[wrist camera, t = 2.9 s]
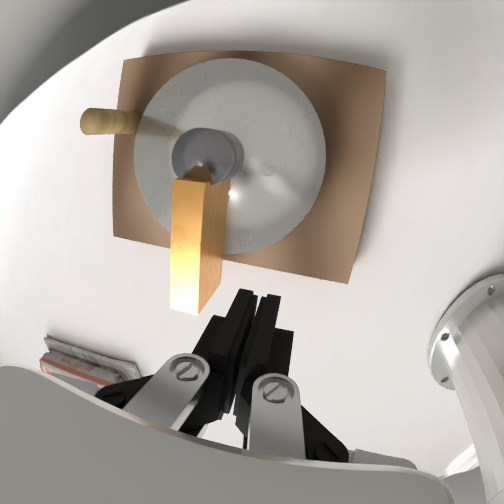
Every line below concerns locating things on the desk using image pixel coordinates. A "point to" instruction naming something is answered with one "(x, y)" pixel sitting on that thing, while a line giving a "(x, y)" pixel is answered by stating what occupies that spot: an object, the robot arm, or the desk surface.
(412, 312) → the desk surface
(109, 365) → the packaged product
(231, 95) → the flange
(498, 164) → the desk surface
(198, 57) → the board
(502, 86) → the desk surface
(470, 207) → the desk surface
